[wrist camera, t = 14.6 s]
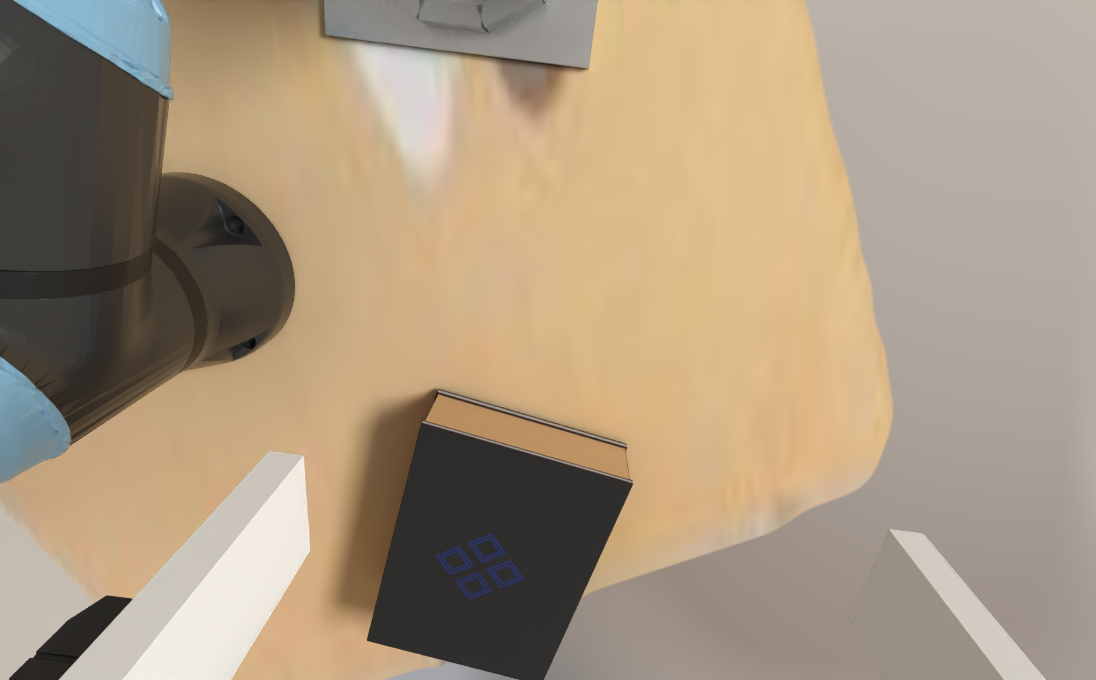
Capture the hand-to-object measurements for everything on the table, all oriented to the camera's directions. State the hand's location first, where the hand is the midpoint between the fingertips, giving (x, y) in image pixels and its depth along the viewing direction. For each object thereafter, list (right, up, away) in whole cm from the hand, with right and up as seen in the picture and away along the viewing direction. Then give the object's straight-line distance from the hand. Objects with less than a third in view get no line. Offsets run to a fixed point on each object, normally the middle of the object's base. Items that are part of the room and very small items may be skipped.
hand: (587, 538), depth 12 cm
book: (-6, -13, +41) cm, 43 cm away
